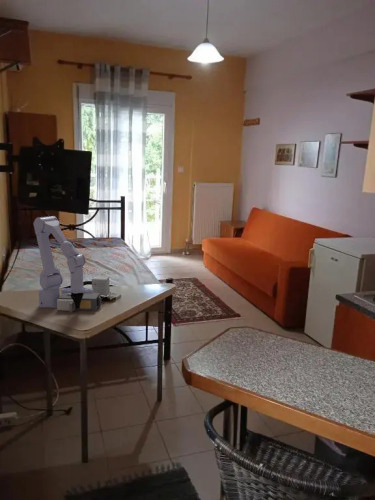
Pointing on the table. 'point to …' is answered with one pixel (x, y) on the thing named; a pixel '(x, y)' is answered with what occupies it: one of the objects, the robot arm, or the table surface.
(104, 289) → the small box
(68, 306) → the camera door
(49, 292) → the robot arm
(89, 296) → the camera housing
